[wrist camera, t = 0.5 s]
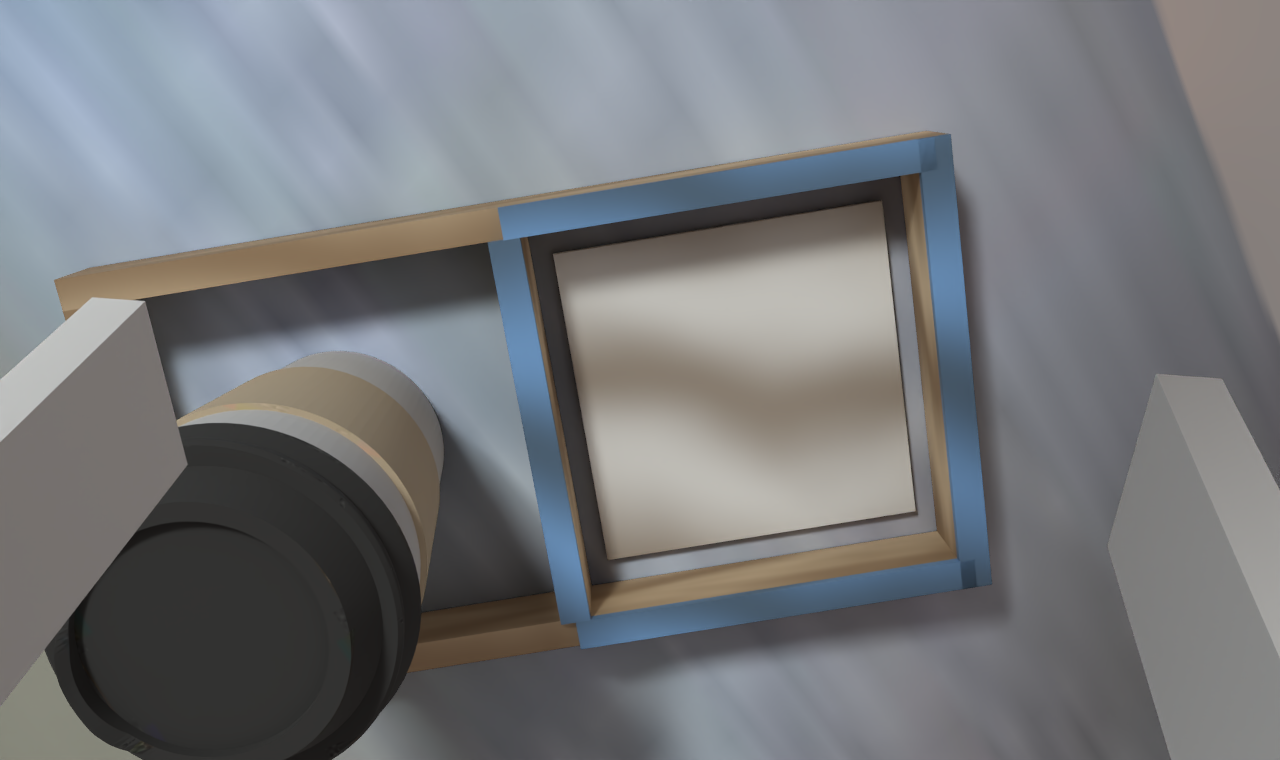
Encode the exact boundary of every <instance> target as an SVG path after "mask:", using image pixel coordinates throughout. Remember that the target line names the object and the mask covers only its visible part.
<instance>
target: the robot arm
mask: <svg viewBox="0 0 1280 760" xmlns="http://www.w3.org/2000/svg"><path fill="white" fill-rule="evenodd" d="M187 465H188V464H187V460H186V456H185V452H184V448H183V445H182V441H181V437H180V433H179V429H178V425H177V422H176V418H175V414H174V410H173V406H172V402H171V398H170V395H169V391H168V387H167V383H166V379H165V375H164V371H163V368H162V364H161V360H160V356H159V352H158V348H157V345H156V341H155V337H154V333H153V329H152V325H151V321H150V318H149V314H148V310H147V306H146V302H145V301H137V300H123V299H109V298H95V297H92V298H91V299H90V300H89V301H88V302H86V303H85V304H84V305H83V306H82V307H81V308H80V309H79V310H78V311H76V312H75V313H74V314H73V315H72V316H71V317H70V318H69V319H67V320H66V321H65V322H64V323H63V324H62V325H61V326H60V327H59V328H57V329H56V330H55V331H54V332H53V333H52V334H51V335H50V336H49V337H47V338H46V339H45V340H44V341H43V342H42V343H41V344H40V345H39V346H37V347H36V348H35V349H34V350H33V351H32V352H31V353H30V354H29V355H27V356H26V357H25V358H24V359H23V360H22V361H21V362H20V363H18V364H17V365H16V366H15V367H14V368H13V369H12V370H11V371H10V372H8V373H7V374H6V375H5V376H4V377H3V378H2V379H1V380H0V706H1V705H2V704H3V702H4V701H5V700H6V698H7V697H8V696H9V695H10V693H11V692H12V691H13V689H14V688H15V687H16V686H17V684H18V683H19V682H20V680H21V679H22V678H23V677H24V675H25V674H26V673H27V671H28V670H29V669H30V668H31V666H32V665H33V664H34V662H35V661H36V660H37V658H38V657H39V656H40V655H41V653H42V652H43V651H44V649H45V648H46V647H47V646H48V644H49V643H50V642H51V640H52V639H53V638H54V637H55V635H56V634H57V633H58V631H59V630H60V629H61V628H62V626H63V625H64V624H65V622H66V621H67V620H68V618H69V617H70V616H71V615H72V613H73V612H74V611H75V609H76V608H77V607H78V606H79V604H80V603H81V602H82V600H83V599H84V598H85V597H86V595H87V594H88V593H89V591H90V590H91V589H92V588H93V586H94V585H95V584H96V582H97V581H98V580H99V578H100V577H101V576H102V575H103V573H104V572H105V571H106V569H107V568H108V567H109V566H110V564H111V563H112V562H113V560H114V559H115V558H116V557H117V555H118V554H119V553H120V551H121V550H122V549H123V548H124V546H125V545H126V544H127V542H128V541H129V540H130V538H131V537H132V536H133V535H134V533H135V532H136V531H137V529H138V528H139V527H140V526H141V524H142V523H143V522H144V520H145V519H146V518H147V517H148V515H149V514H150V513H151V511H152V510H153V509H154V508H155V506H156V505H157V504H158V502H159V501H160V500H161V499H162V497H163V496H164V495H165V493H166V492H167V491H168V489H169V488H170V487H171V486H172V484H173V483H174V482H175V480H176V479H177V478H178V477H179V475H180V474H181V473H182V471H183V470H184V469H185V468H186V466H187ZM1107 548H1108V551H1109V554H1110V558H1111V561H1112V564H1113V568H1114V571H1115V574H1116V578H1117V581H1118V584H1119V588H1120V591H1121V594H1122V598H1123V601H1124V604H1125V608H1126V611H1127V615H1128V618H1129V621H1130V625H1131V628H1132V631H1133V635H1134V638H1135V641H1136V645H1137V648H1138V651H1139V655H1140V658H1141V661H1142V665H1143V668H1144V671H1145V675H1146V678H1147V681H1148V685H1149V688H1150V691H1151V695H1152V698H1153V701H1154V705H1155V708H1156V711H1157V715H1158V718H1159V721H1160V725H1161V728H1162V731H1163V735H1164V738H1165V741H1166V745H1167V748H1168V751H1169V755H1170V758H1171V760H1280V489H1279V488H1278V486H1277V484H1276V482H1275V480H1274V478H1273V476H1272V474H1271V472H1270V470H1269V468H1268V466H1267V464H1266V463H1265V461H1264V459H1263V457H1262V455H1261V453H1260V451H1259V449H1258V447H1257V445H1256V443H1255V441H1254V439H1253V438H1252V436H1251V434H1250V432H1249V430H1248V428H1247V426H1246V424H1245V422H1244V420H1243V418H1242V416H1241V414H1240V413H1239V411H1238V409H1237V407H1236V405H1235V403H1234V401H1233V399H1232V397H1231V395H1230V393H1229V391H1228V389H1227V388H1226V386H1225V384H1224V382H1223V380H1222V379H1221V378H1208V377H1194V376H1180V375H1166V374H1156V376H1155V380H1154V383H1153V387H1152V390H1151V394H1150V397H1149V401H1148V404H1147V408H1146V411H1145V415H1144V418H1143V422H1142V425H1141V429H1140V432H1139V436H1138V439H1137V443H1136V446H1135V450H1134V453H1133V457H1132V460H1131V464H1130V467H1129V471H1128V474H1127V478H1126V481H1125V485H1124V489H1123V492H1122V496H1121V499H1120V503H1119V506H1118V510H1117V513H1116V517H1115V520H1114V524H1113V527H1112V531H1111V534H1110V538H1109V541H1108V545H1107Z"/></svg>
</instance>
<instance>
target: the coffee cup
mask: <svg viewBox="0 0 1280 760" xmlns="http://www.w3.org/2000/svg"><path fill="white" fill-rule="evenodd" d="M176 422H177V425H178V429H179V433H180V437H181V441H182V445H183V448H184V452H185V456H186V460H187V464H188V465H187V466H186V468H185V469H184V470H183V471H182V473H181V474H180V475H179V477H178V478H177V479H176V480H175V482H174V483H173V484H172V486H171V487H170V488H169V489H168V491H167V492H166V493H165V495H164V496H163V497H162V499H161V500H160V501H159V502H158V504H157V505H156V506H155V508H154V509H153V510H152V511H151V513H150V514H149V515H148V517H147V518H146V519H145V520H144V522H143V523H142V524H141V526H140V527H139V528H138V529H137V531H136V532H135V533H134V535H133V536H132V537H131V538H130V540H129V541H128V542H127V544H126V545H125V546H124V548H123V549H122V550H121V551H120V553H119V554H118V555H117V557H116V558H115V559H114V560H113V562H112V563H111V564H110V566H109V567H108V568H107V569H106V571H105V572H104V573H103V575H102V576H101V577H100V578H99V580H98V581H97V582H96V584H95V585H94V586H93V588H92V589H91V590H90V591H89V593H88V594H87V595H86V597H85V598H84V599H83V600H82V602H81V603H80V604H79V606H78V607H77V608H76V609H75V611H74V612H73V613H72V615H71V616H70V617H69V618H68V620H67V621H66V622H65V624H64V625H63V626H62V628H61V629H60V630H59V631H58V633H57V634H56V635H55V637H54V638H53V639H52V640H51V642H50V643H49V644H48V646H47V647H46V648H45V652H46V655H47V657H48V660H49V662H50V664H51V666H52V668H53V670H54V672H55V674H56V676H57V678H58V682H59V685H60V687H61V689H62V691H63V693H64V695H65V697H66V699H67V701H68V702H69V704H70V706H71V707H72V709H73V710H74V712H75V713H76V715H77V716H78V717H79V718H80V720H81V721H82V722H83V723H84V725H85V726H86V727H87V728H88V729H89V730H90V731H91V732H92V733H93V734H94V735H95V736H97V737H98V738H100V739H101V740H103V741H104V742H106V743H108V744H109V745H111V746H114V747H116V748H119V749H122V750H126V751H129V752H130V753H132V754H134V755H135V756H137V757H139V758H141V759H142V760H332V759H333V758H335V757H336V756H338V755H339V754H341V753H342V752H344V751H345V750H346V749H347V748H349V747H350V746H351V745H352V744H353V743H355V742H356V741H357V740H358V739H359V738H360V737H361V736H362V735H363V734H364V733H365V732H366V730H367V729H368V728H369V727H370V726H371V724H372V723H373V722H374V721H375V719H376V718H377V716H378V715H379V713H380V712H381V711H382V710H383V709H384V708H385V706H386V705H387V704H388V703H389V701H390V700H391V699H392V697H393V696H394V695H395V693H396V692H397V690H398V688H399V687H400V685H401V683H402V682H403V680H404V678H405V676H406V674H407V672H408V669H409V667H410V665H411V662H412V659H413V656H414V653H415V650H416V646H417V642H418V637H419V631H420V624H421V605H422V602H423V598H424V593H425V588H426V582H427V576H428V570H429V564H430V558H431V552H432V546H433V540H434V535H435V529H436V523H437V517H438V511H439V502H440V486H439V485H440V479H441V474H442V469H443V463H444V443H443V436H442V431H441V428H440V424H439V421H438V419H437V416H436V414H435V412H434V410H433V408H432V406H431V404H430V402H429V401H428V399H427V398H426V396H425V395H424V394H423V392H422V391H421V390H420V389H419V388H418V386H417V385H416V384H415V383H414V382H413V381H412V380H411V379H409V378H408V377H407V376H406V375H405V374H403V373H402V372H401V371H399V370H398V369H396V368H395V367H393V366H391V365H390V364H388V363H386V362H384V361H382V360H379V359H377V358H374V357H371V356H368V355H364V354H360V353H355V352H347V351H331V352H322V353H317V354H313V355H310V356H306V357H304V358H301V359H299V360H297V361H295V362H293V363H291V364H289V365H287V366H286V367H284V368H282V369H280V370H276V371H272V372H269V373H266V374H263V375H260V376H258V377H256V378H253V379H252V380H250V381H248V382H246V383H244V384H242V385H240V386H238V387H237V388H235V389H233V390H231V391H229V392H227V393H226V394H224V395H222V396H220V397H218V398H216V399H215V400H213V401H211V402H209V403H207V404H205V405H204V406H202V407H200V408H198V409H196V410H194V411H193V412H191V413H189V414H187V415H185V416H183V417H182V418H180V419H178V420H176Z"/></svg>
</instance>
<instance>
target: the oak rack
mask: <svg viewBox="0 0 1280 760" xmlns="http://www.w3.org/2000/svg"><path fill="white" fill-rule="evenodd" d="M896 176H900V177H901V187H902V197H903V206H904V216H905V226H906V235H907V245H908V255H909V264H910V274H911V284H912V294H913V303H914V313H915V323H916V332H917V342H918V352H919V361H920V371H921V381H922V390H923V400H924V410H925V419H926V429H927V439H928V448H929V458H930V468H931V477H932V487H933V497H934V506H935V516H936V526H937V531H933V532H927V533H921V534H914V535H908V536H902V537H896V538H889V539H883V540H877V541H870V542H864V543H858V544H851V545H845V546H839V547H833V548H826V549H820V550H814V551H807V552H801V553H795V554H788V555H782V556H776V557H770V558H763V559H757V560H751V561H744V562H738V563H732V564H725V565H719V566H713V567H707V568H700V569H694V570H688V571H681V572H675V573H669V574H662V575H656V576H650V577H643V578H637V579H631V580H625V581H618V582H612V583H606V584H599V585H593V586H592V584H591V579H590V573H589V568H588V562H587V557H586V552H585V546H584V541H583V535H582V530H581V524H580V519H579V513H578V508H577V503H576V497H575V492H574V486H573V481H572V475H571V470H570V464H569V459H568V454H567V448H566V443H565V437H564V432H563V426H562V421H561V415H560V410H559V405H558V399H557V394H556V388H555V383H554V377H553V372H552V366H551V361H550V356H549V350H548V345H547V339H546V334H545V328H544V323H543V317H542V312H541V307H540V301H539V296H538V290H537V285H536V279H535V274H534V268H533V263H532V258H531V252H530V247H529V241H528V236H535V235H541V234H547V233H553V232H559V231H565V230H571V229H577V228H584V227H590V226H596V225H602V224H608V223H614V222H620V221H627V220H633V219H639V218H645V217H651V216H657V215H663V214H669V213H676V212H682V211H688V210H694V209H700V208H706V207H712V206H718V205H725V204H731V203H737V202H743V201H749V200H755V199H761V198H767V197H774V196H780V195H786V194H792V193H798V192H804V191H810V190H816V189H823V188H829V187H835V186H841V185H847V184H853V183H859V182H866V181H872V180H878V179H884V178H890V177H896ZM485 242H488V248H489V253H490V258H491V263H492V268H493V274H494V279H495V284H496V289H497V294H498V300H499V305H500V310H501V315H502V320H503V326H504V331H505V336H506V341H507V346H508V352H509V357H510V362H511V367H512V372H513V378H514V383H515V388H516V393H517V398H518V404H519V409H520V414H521V419H522V424H523V429H524V435H525V440H526V445H527V450H528V455H529V461H530V466H531V471H532V476H533V481H534V487H535V492H536V497H537V502H538V507H539V513H540V518H541V523H542V528H543V533H544V539H545V544H546V549H547V554H548V559H549V565H550V570H551V575H552V580H553V585H554V591H555V592H549V593H543V594H536V595H530V596H524V597H517V598H511V599H505V600H499V601H492V602H486V603H480V604H473V605H467V606H461V607H454V608H448V609H442V610H436V611H429V612H423V613H421V624H420V631H419V637H418V642H417V646H416V650H415V653H414V656H413V659H412V662H411V665H410V667H409V669H408V672H407V673H409V672H415V671H422V670H428V669H434V668H441V667H447V666H453V665H460V664H466V663H472V662H479V661H485V660H491V659H498V658H504V657H510V656H517V655H523V654H529V653H536V652H542V651H548V650H555V649H561V648H567V647H574V646H580V647H581V649H587V648H593V647H600V646H606V645H612V644H619V643H625V642H631V641H638V640H644V639H650V638H657V637H663V636H669V635H676V634H682V633H688V632H695V631H701V630H707V629H714V628H720V627H726V626H733V625H739V624H745V623H752V622H758V621H764V620H771V619H777V618H783V617H790V616H796V615H802V614H809V613H815V612H821V611H828V610H834V609H840V608H847V607H853V606H859V605H866V604H872V603H878V602H885V601H891V600H897V599H904V598H910V597H916V596H923V595H929V594H935V593H942V592H948V591H954V590H961V589H967V588H973V587H980V586H986V585H992V579H991V568H990V557H989V546H988V535H987V524H986V513H985V502H984V492H983V481H982V470H981V459H980V448H979V437H978V426H977V415H976V405H975V394H974V383H973V372H972V361H971V350H970V339H969V329H968V318H967V307H966V296H965V285H964V274H963V263H962V252H961V242H960V231H959V220H958V209H957V198H956V187H955V176H954V165H953V155H952V144H951V134H945V133H938V132H931V131H923V132H917V133H911V134H904V135H898V136H892V137H886V138H880V139H874V140H868V141H862V142H856V143H850V144H843V145H837V146H831V147H825V148H819V149H813V150H807V151H801V152H795V153H788V154H782V155H776V156H770V157H764V158H758V159H752V160H746V161H740V162H733V163H727V164H721V165H715V166H709V167H703V168H697V169H691V170H685V171H678V172H672V173H666V174H660V175H654V176H648V177H642V178H636V179H630V180H623V181H617V182H611V183H605V184H599V185H593V186H587V187H581V188H575V189H568V190H562V191H556V192H550V193H544V194H538V195H532V196H526V197H520V198H514V199H507V200H501V201H495V202H489V203H483V204H477V205H471V206H465V207H459V208H452V209H446V210H440V211H434V212H428V213H422V214H416V215H410V216H404V217H397V218H391V219H385V220H379V221H373V222H367V223H361V224H355V225H349V226H342V227H336V228H330V229H324V230H318V231H312V232H306V233H300V234H294V235H287V236H281V237H275V238H269V239H263V240H257V241H251V242H245V243H239V244H232V245H226V246H220V247H214V248H208V249H202V250H196V251H190V252H184V253H177V254H171V255H165V256H159V257H153V258H147V259H141V260H135V261H129V262H123V263H116V264H110V265H104V266H98V267H92V268H87V269H85V270H82V271H79V272H76V273H73V274H70V275H67V276H64V277H61V278H59V279H56V280H54V282H55V285H56V289H57V292H58V296H59V299H60V303H61V306H62V310H63V313H64V317H65V320H67V319H69V318H70V317H71V316H72V315H73V314H74V313H75V312H76V311H78V310H79V309H80V308H81V307H82V306H83V305H84V304H85V303H86V302H88V301H89V300H90V299H91V298H92V297H95V298H109V299H123V300H136V299H142V298H148V297H154V296H160V295H166V294H172V293H179V292H185V291H191V290H197V289H203V288H209V287H215V286H222V285H228V284H234V283H240V282H246V281H252V280H258V279H264V278H271V277H277V276H283V275H289V274H295V273H301V272H307V271H313V270H320V269H326V268H332V267H338V266H344V265H350V264H356V263H362V262H369V261H375V260H381V259H387V258H393V257H399V256H405V255H411V254H418V253H424V252H430V251H436V250H442V249H448V248H454V247H460V246H467V245H473V244H479V243H485ZM553 257H554V262H555V268H556V273H557V279H558V285H559V290H560V296H561V301H562V307H563V313H564V318H565V324H566V329H567V335H568V341H569V346H570V352H571V357H572V363H573V368H574V374H575V380H576V385H577V391H578V396H579V402H580V408H581V413H582V419H583V424H584V430H585V435H586V441H587V447H588V452H589V458H590V463H591V469H592V475H593V480H594V486H595V491H596V497H597V503H598V508H599V514H600V519H601V525H602V530H603V536H604V542H605V547H606V553H607V558H608V560H612V559H618V558H624V557H630V556H637V555H643V554H649V553H656V552H662V551H668V550H674V549H681V548H687V547H693V546H700V545H706V544H712V543H718V542H725V541H731V540H737V539H744V538H750V537H756V536H762V535H769V534H775V533H781V532H788V531H794V530H800V529H807V528H813V527H819V526H825V525H832V524H838V523H844V522H851V521H857V520H863V519H869V518H876V517H882V516H888V515H895V514H901V513H907V512H913V511H915V501H914V492H913V483H912V473H911V464H910V455H909V446H908V436H907V427H906V418H905V408H904V399H903V390H902V381H901V371H900V362H899V353H898V343H897V334H896V325H895V316H894V306H893V297H892V288H891V278H890V269H889V260H888V251H887V241H886V232H885V223H884V213H883V204H882V201H881V200H878V201H872V202H866V203H860V204H854V205H848V206H841V207H835V208H829V209H823V210H817V211H811V212H805V213H799V214H792V215H786V216H780V217H774V218H768V219H762V220H756V221H749V222H743V223H737V224H731V225H725V226H719V227H713V228H706V229H700V230H694V231H688V232H682V233H676V234H670V235H663V236H657V237H651V238H645V239H639V240H633V241H627V242H621V243H614V244H608V245H602V246H596V247H590V248H584V249H578V250H571V251H565V252H559V253H554V254H553Z"/></svg>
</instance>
